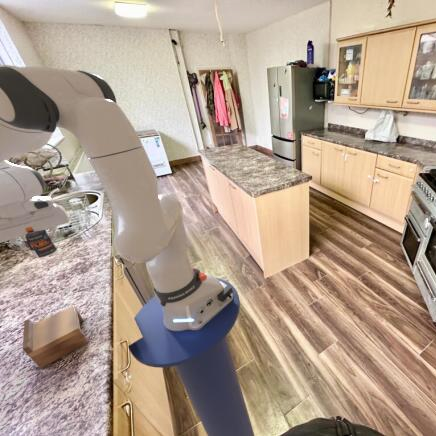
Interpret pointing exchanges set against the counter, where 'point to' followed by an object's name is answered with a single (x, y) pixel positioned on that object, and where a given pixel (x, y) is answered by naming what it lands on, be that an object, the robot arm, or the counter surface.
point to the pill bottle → (39, 243)
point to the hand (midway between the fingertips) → (40, 243)
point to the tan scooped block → (53, 336)
